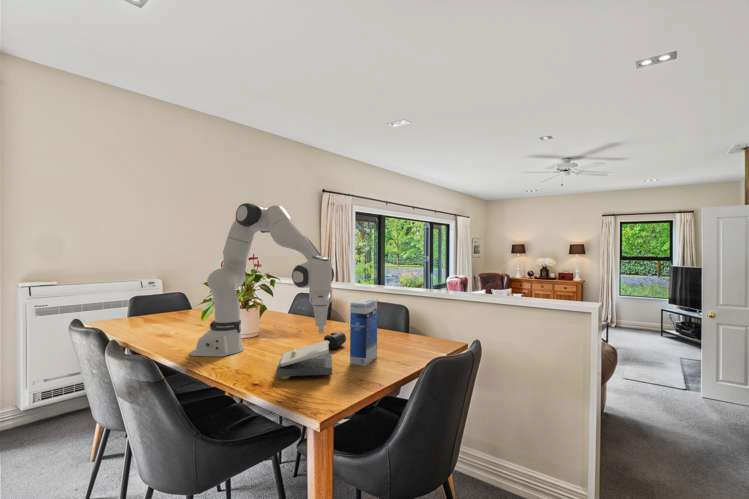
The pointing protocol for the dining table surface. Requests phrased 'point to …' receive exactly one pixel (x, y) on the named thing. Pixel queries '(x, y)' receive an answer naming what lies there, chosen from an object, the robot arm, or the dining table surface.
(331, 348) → the end cap
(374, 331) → the string lights box
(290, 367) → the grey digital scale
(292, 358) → the level plate
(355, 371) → the dining table surface
